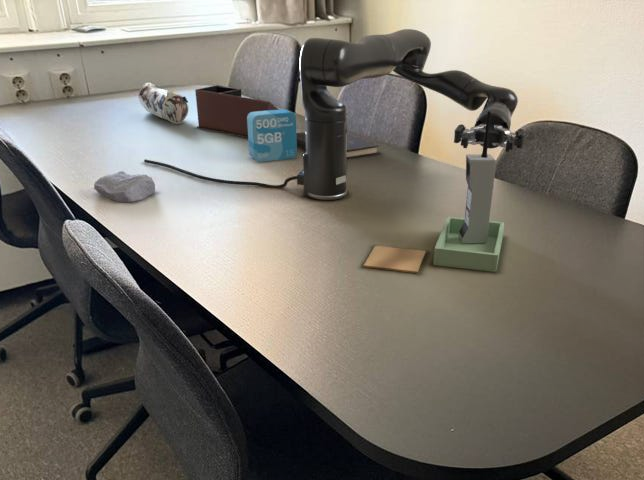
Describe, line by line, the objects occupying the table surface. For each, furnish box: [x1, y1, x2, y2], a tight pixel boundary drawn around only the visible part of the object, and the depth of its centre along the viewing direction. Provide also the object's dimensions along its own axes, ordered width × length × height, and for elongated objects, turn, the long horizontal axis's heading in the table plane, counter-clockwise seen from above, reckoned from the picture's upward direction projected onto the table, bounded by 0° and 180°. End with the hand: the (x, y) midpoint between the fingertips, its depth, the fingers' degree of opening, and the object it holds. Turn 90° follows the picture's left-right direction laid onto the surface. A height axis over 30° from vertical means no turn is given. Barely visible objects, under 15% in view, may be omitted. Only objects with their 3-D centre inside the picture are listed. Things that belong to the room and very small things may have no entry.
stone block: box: [93, 171, 156, 203], centre depth 160 cm, size 12×5×10 cm
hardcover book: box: [296, 131, 380, 160], centre depth 199 cm, size 16×23×2 cm
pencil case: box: [138, 82, 189, 125], centre depth 224 cm, size 22×8×10 cm, turn 37°
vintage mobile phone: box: [458, 111, 497, 244], centre depth 134 cm, size 4×5×25 cm
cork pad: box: [363, 244, 427, 274], centre depth 132 cm, size 10×10×1 cm
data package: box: [247, 108, 298, 163], centre depth 186 cm, size 12×4×12 cm, turn 118°
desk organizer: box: [194, 84, 280, 139], centre depth 210 cm, size 10×29×11 cm, turn 58°
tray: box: [432, 216, 505, 273], centre depth 136 cm, size 12×18×3 cm, turn 167°
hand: (486, 144), depth 142 cm, fingers open, 8 cm apart
